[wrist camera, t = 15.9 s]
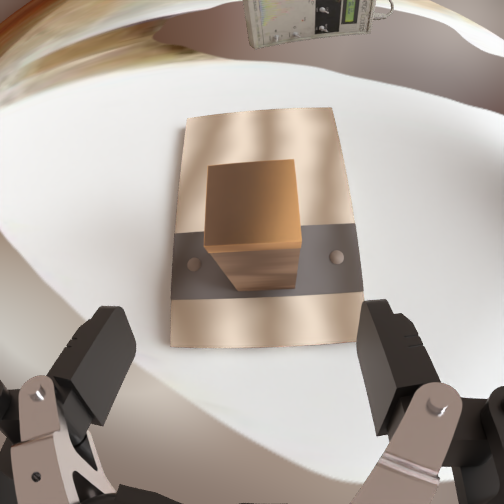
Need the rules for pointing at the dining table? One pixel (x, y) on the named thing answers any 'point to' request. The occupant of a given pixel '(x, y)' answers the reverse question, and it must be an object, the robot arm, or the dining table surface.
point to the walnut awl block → (254, 223)
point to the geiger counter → (307, 19)
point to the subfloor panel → (312, 231)
